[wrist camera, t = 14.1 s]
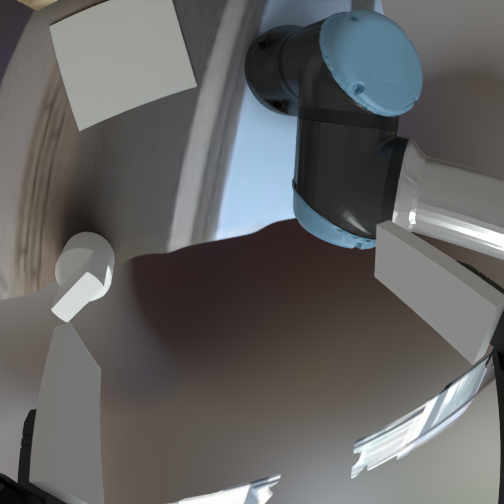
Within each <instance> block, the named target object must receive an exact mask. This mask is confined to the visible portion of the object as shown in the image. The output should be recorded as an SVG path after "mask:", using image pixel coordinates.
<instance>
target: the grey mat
mask: <svg viewBox="0 0 504 504" xmlns="http://www.w3.org/2000/svg"><path fill="white" fill-rule="evenodd" d="M50 31H51V35H52V40H53V44H54V48H55V52H56V56H57V60H58V64H59V67H60V71H61V75H62V78H63V82H64V85H65V88H66V92H67V95H68V98H69V102H70V105H71V108H72V111H73V114H74V117H75V120H76V123H77V126H78V129H79V131H81V130H83V129H85V128H87V127H89V126H92V125H94V124H96V123H98V122H101V121H103V120H105V119H107V118H110V117H112V116H115V115H117V114H119V113H122V112H124V111H127V110H129V109H132V108H135V107H137V106H140V105H142V104H145V103H148V102H151V101H153V100H156V99H159V98H162V97H165V96H168V95H171V94H174V93H177V92H180V91H183V90H186V89H190V88H193V87H196V86H197V85H196V81H195V78H194V74H193V71H192V67H191V64H190V61H189V57H188V54H187V50H186V47H185V43H184V40H183V36H182V33H181V30H180V26H179V23H178V19H177V16H176V12H175V9H174V5H173V2H172V0H109V1H106V2H104V3H101V4H99V5H96V6H94V7H91V8H89V9H86V10H84V11H82V12H79V13H77V14H75V15H72V16H70V17H68V18H66V19H64V20H62V21H60V22H58V23H56V24H54V25H52V26H50Z"/></svg>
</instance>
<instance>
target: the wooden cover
mask: <svg viewBox="0 0 504 504" xmlns="http://www.w3.org/2000/svg"><path fill="white" fill-rule="evenodd" d="M17 1H19V2H21V3H23V4H25V5H27V6H29V7H31V8H32V9H34V10H36V11H38V10H40V9H42V8H43V7H45V6H47V5H49V4H51V3H53V2H55V1H57V0H17Z"/></svg>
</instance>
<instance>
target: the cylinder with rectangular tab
mask: <svg viewBox="0 0 504 504" xmlns="http://www.w3.org/2000/svg"><path fill="white" fill-rule="evenodd" d="M114 259H115V258H114V252H113V249H112V247H111V245H110V244H109V243H108V241H107V240H106V239H105V238H103V237H102V236H101V235H98V234H96V233H92V232H81V233H78V234H76V235H74V236H73V237H71V238H70V239H69V240H68V242H67V243H66V245H65V247H64V249H63V251H62V253H61V255H60V257H59V259H58V261H57V264H56V267H55V276H56V279H57V282H58V284H59V286H60V287H59V290H58V292H57V295H56V298H55V300H54V303H53V306H52V309H51V310H52V311H53V312H54V313H55V314H56V315H57V316H58V317H59V318H60V319H62V320H63V321H65V322H68V321H69V320H70V319H71V318H72V317H73V316H74V315H75V314H76V313H77V312H78V311H79V310H80V309H81V308H82V307H83V306H85V304H87V303H88V301H93V300H96V299H98V298H100V297H102V296H103V295H104V294H105V293H106V292H107V290H108V289H109V287H110V284H111V279H112V273H113V267H114Z"/></svg>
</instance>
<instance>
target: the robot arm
mask: <svg viewBox="0 0 504 504" xmlns="http://www.w3.org/2000/svg"><path fill="white" fill-rule="evenodd" d="M245 75H246V80H247V83H248V86H249V88H250V90H251V92H252V93H253V95H254V96H255V97H256V99H257V100H258V101H259V102H260V103H261V104H262V105H264V106H265V107H266V108H268V109H269V110H271V111H273V112H276V113H279V114H282V115H288V116H298V119H297V136H296V152H295V167H294V178H293V180H292V188H293V191H294V194H293V210H294V214H295V216H296V218H297V219H298V221H299V223H300V224H301V225H302V226H303V227H304V228H305V229H306V230H307V231H309V232H310V233H312V234H313V235H315V236H316V237H318V238H320V239H322V240H325V241H327V242H329V243H332V244H335V245H338V246H342V247H347V248H353V247H354V246H355V247H358V248H360V249H369V248H372V247H375V246H376V260H375V277H376V278H377V279H378V280H379V281H380V282H382V283H383V284H384V285H385V286H386V287H387V288H389V289H390V290H391V291H392V292H393V293H394V294H395V295H397V296H398V297H399V298H400V299H401V300H403V301H404V302H405V303H406V304H407V305H408V306H409V307H410V308H411V309H413V310H414V311H415V312H416V313H417V314H418V315H419V316H420V317H422V318H423V319H424V320H425V321H426V322H427V323H428V324H429V325H430V326H432V327H433V328H434V329H435V330H436V331H437V332H438V333H439V334H440V335H442V337H444V338H445V339H446V340H447V341H448V342H449V343H450V344H451V345H452V346H453V347H454V348H455V349H456V350H457V351H459V352H460V353H461V354H462V355H463V356H464V357H465V358H466V359H467V360H468V361H469V362H470V363H471V364H472V365H473V364H474V363H475V362H477V361H478V360H479V359H480V358H481V357H483V356H484V355H485V352H486V350H487V348H488V346H489V344H491V345H492V346H493V347H494V348H493V350H492V352H491V354H490V356H489V358H488V360H487V362H486V367H485V368H488V367H489V365H490V363H491V361H492V360H493V364H492V366H491V368H494V371H495V378H496V386H497V394H498V404H499V419H500V439H501V441H500V442H501V464H500V465H501V466H500V487H499V500H498V504H504V289H503V288H502V287H500V286H499V285H498V284H496V283H495V282H493V281H492V280H490V279H489V278H486V276H485V275H483V274H482V273H479V272H478V271H477V270H476V269H475V268H473V267H472V266H470V265H468V264H465V263H463V262H460V261H455V260H453V259H452V258H450V257H449V256H447V255H446V254H444V253H442V252H441V251H439V250H438V249H436V248H435V247H433V246H431V245H430V244H428V243H427V242H425V241H423V240H422V239H420V238H419V237H417V236H415V235H414V234H412V233H410V232H416V233H419V234H423V235H426V236H430V237H433V238H436V239H440V240H443V241H446V242H450V243H453V244H456V245H459V246H463V247H466V248H469V249H472V250H475V251H478V252H481V253H484V254H487V255H490V256H493V257H497V258H499V259H502V260H504V179H503V178H500V177H497V176H494V175H491V174H488V173H485V172H481V171H478V170H474V169H471V168H468V167H464V166H461V165H457V164H454V163H450V162H446V161H442V160H438V159H434V158H430V157H428V156H426V155H424V154H423V153H422V151H421V150H420V148H419V147H418V146H417V144H416V143H415V141H414V140H412V139H407V138H403V137H399V136H398V135H397V134H398V122H399V115H401V114H402V113H405V112H406V111H408V110H410V109H411V108H412V107H413V105H414V103H413V102H414V101H416V100H418V98H419V96H420V93H421V88H422V82H423V74H422V66H421V62H420V59H419V56H418V53H417V51H416V48H415V46H414V45H413V43H412V41H410V40H409V39H408V37H407V35H406V34H405V32H404V31H403V29H402V28H401V27H400V26H399V25H397V24H396V23H395V22H394V21H392V20H391V19H389V18H388V17H386V16H384V15H382V14H380V13H377V12H374V11H369V10H355V11H350V12H342V13H336V14H333V15H331V16H330V17H328V18H326V19H323V20H321V21H318V22H316V23H313V24H311V25H308V26H306V27H303V26H298V25H284V26H279V27H276V28H273V29H271V30H269V31H267V32H265V33H264V34H262V35H261V36H259V37H258V38H257V39H256V40H255V41H254V43H253V44H252V45H251V47H250V49H249V51H248V53H247V56H246V61H245ZM100 380H101V369H100V367H99V366H98V364H97V363H96V362H95V360H94V359H93V357H92V356H91V354H90V353H89V351H88V350H87V348H86V347H85V345H84V344H83V342H82V341H81V339H80V337H79V336H78V334H77V333H76V331H75V329H74V328H73V326H72V325H71V323H66V324H63V325H60V326H57V327H55V328H54V332H53V336H52V339H51V343H50V347H49V351H48V355H47V359H46V364H45V368H44V373H43V378H42V382H41V388H40V393H39V399H38V404H37V409H34V410H30V412H29V414H28V416H27V418H26V420H25V422H24V427H23V438H22V441H21V446H22V448H21V449H20V458H19V470H18V483H16V482H15V481H14V480H12V479H10V478H9V477H8V476H6V475H4V474H2V473H1V474H0V504H105V502H104V492H103V481H102V468H101V449H100V382H101V381H100Z"/></svg>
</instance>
